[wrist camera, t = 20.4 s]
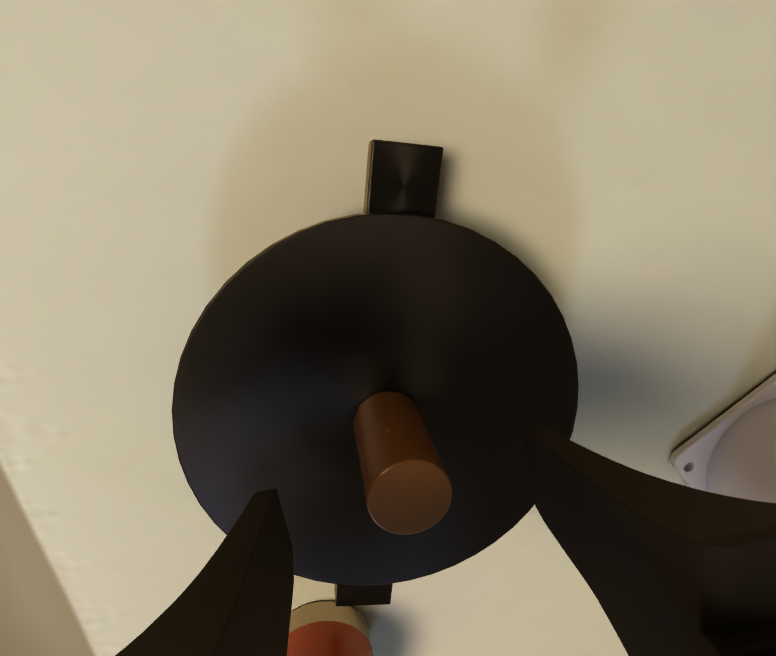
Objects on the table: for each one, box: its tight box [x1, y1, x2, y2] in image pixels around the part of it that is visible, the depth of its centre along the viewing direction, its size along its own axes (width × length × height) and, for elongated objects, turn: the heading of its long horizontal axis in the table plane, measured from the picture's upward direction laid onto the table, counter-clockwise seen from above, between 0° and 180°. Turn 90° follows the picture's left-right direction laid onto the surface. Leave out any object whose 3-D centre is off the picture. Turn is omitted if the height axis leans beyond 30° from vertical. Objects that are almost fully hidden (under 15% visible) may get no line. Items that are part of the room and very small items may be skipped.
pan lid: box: [172, 212, 578, 586], centre depth 16 cm, size 15×15×6 cm
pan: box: [335, 140, 443, 607], centre depth 20 cm, size 14×19×3 cm
